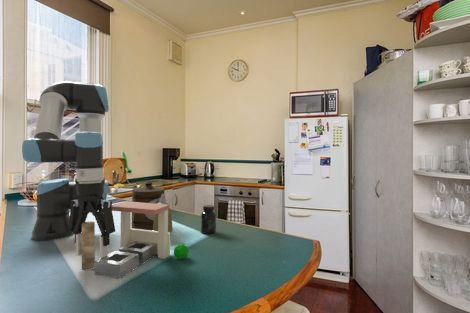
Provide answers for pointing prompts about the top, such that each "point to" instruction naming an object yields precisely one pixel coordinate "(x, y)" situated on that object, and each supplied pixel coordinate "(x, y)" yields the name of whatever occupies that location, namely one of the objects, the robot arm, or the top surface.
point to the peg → (88, 245)
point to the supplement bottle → (208, 220)
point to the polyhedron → (181, 251)
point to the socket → (116, 264)
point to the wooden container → (145, 196)
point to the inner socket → (141, 250)
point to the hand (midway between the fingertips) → (92, 255)
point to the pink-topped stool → (145, 235)
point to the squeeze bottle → (155, 224)
